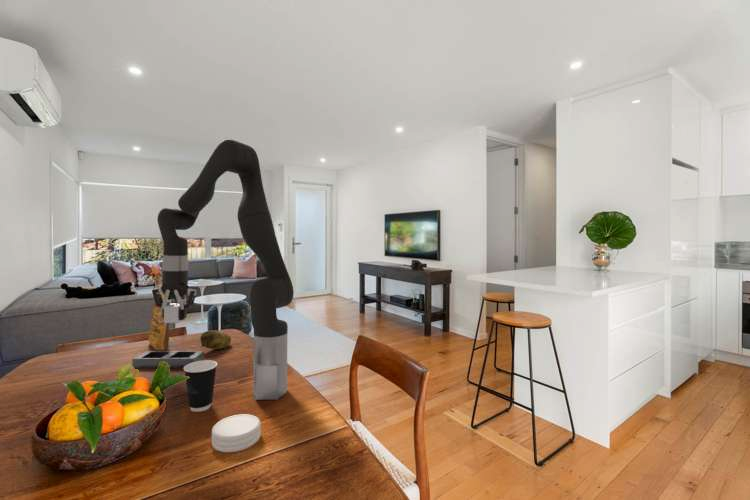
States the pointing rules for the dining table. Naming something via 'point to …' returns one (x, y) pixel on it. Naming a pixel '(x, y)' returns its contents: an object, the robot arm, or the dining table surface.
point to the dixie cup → (200, 384)
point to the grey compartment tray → (167, 358)
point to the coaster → (236, 433)
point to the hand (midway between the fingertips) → (174, 319)
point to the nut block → (172, 313)
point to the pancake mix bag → (158, 324)
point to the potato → (215, 340)
